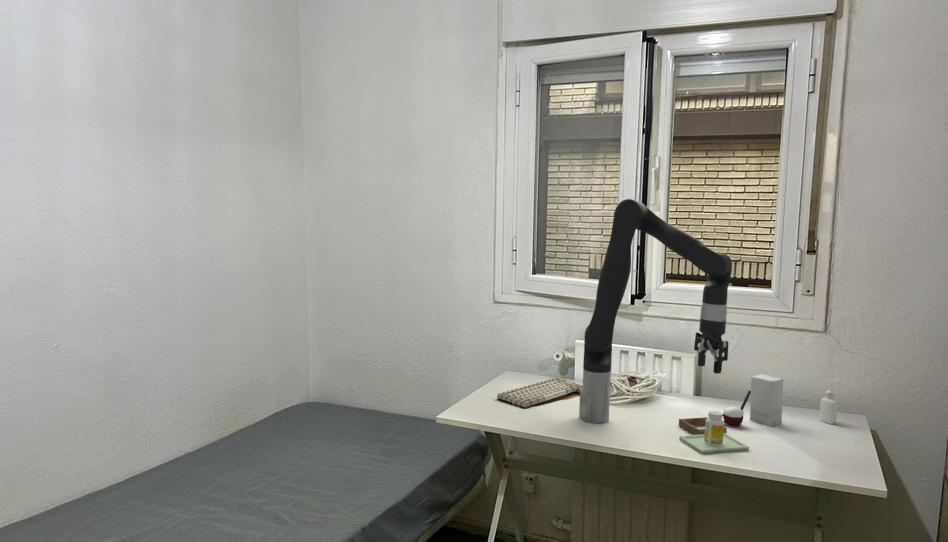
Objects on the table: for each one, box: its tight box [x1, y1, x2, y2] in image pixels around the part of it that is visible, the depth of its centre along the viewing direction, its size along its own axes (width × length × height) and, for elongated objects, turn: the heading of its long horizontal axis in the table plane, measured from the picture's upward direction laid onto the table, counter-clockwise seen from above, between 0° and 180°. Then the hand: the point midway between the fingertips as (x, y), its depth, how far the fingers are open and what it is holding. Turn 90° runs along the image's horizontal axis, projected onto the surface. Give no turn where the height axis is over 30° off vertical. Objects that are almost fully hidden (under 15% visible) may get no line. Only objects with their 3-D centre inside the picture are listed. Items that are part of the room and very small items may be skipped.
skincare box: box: [749, 373, 784, 427], centre depth 219 cm, size 8×7×16 cm
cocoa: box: [722, 389, 751, 427], centre depth 215 cm, size 10×6×12 cm, turn 59°
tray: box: [678, 432, 750, 455], centre depth 197 cm, size 16×12×1 cm
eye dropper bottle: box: [819, 387, 838, 425], centre depth 221 cm, size 4×6×12 cm
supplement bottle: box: [704, 410, 725, 446], centre depth 196 cm, size 5×5×10 cm
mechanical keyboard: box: [496, 376, 583, 409], centre depth 245 cm, size 38×19×3 cm, turn 135°
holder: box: [678, 416, 728, 435], centre depth 209 cm, size 11×11×2 cm
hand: (709, 369), depth 199 cm, fingers open, 8 cm apart
